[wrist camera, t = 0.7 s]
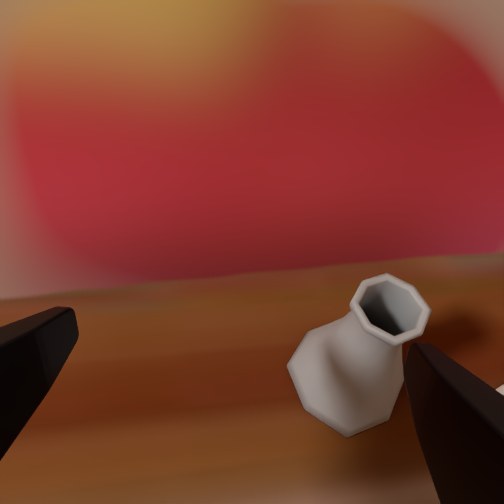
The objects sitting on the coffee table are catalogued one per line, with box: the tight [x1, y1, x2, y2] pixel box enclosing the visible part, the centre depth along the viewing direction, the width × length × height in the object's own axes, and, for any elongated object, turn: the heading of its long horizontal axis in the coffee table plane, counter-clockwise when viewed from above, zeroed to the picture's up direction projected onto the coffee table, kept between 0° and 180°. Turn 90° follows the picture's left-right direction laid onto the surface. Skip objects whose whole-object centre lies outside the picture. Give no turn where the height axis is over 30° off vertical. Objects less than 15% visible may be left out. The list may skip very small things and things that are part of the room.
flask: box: [287, 273, 432, 438], centre depth 18 cm, size 7×7×10 cm
